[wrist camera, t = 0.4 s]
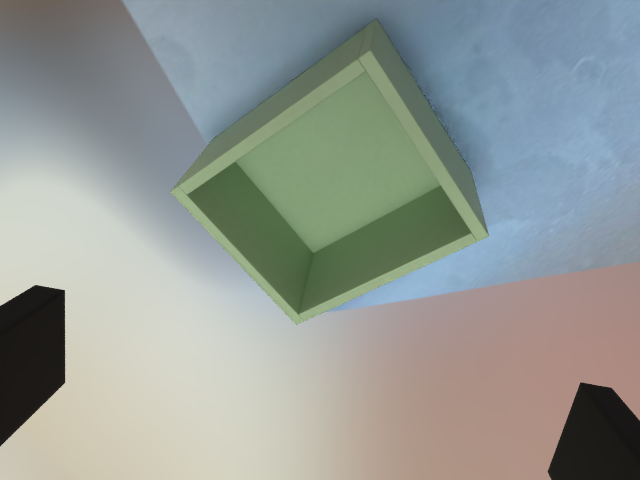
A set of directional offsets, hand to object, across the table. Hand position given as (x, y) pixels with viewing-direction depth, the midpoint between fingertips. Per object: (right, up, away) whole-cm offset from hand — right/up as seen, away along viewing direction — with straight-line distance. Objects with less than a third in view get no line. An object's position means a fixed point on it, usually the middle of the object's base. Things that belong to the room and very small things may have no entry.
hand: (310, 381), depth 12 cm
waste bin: (+2, +10, +26) cm, 28 cm away
